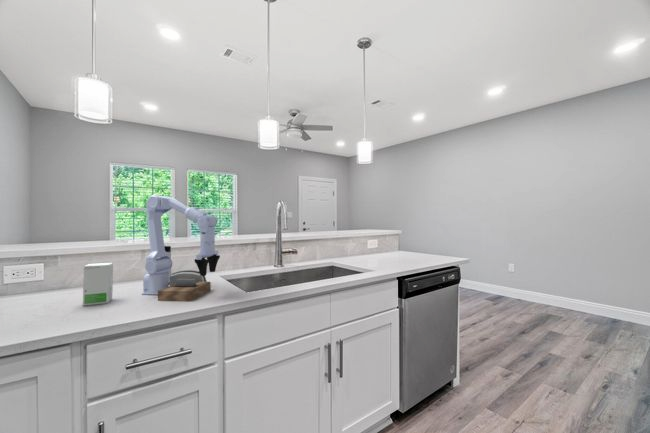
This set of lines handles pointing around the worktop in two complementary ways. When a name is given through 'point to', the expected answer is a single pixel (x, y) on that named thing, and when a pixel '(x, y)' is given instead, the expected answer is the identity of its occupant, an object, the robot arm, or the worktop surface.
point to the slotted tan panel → (183, 292)
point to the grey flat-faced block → (186, 283)
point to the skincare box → (97, 283)
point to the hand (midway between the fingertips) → (207, 273)
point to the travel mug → (168, 250)
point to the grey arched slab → (187, 276)
